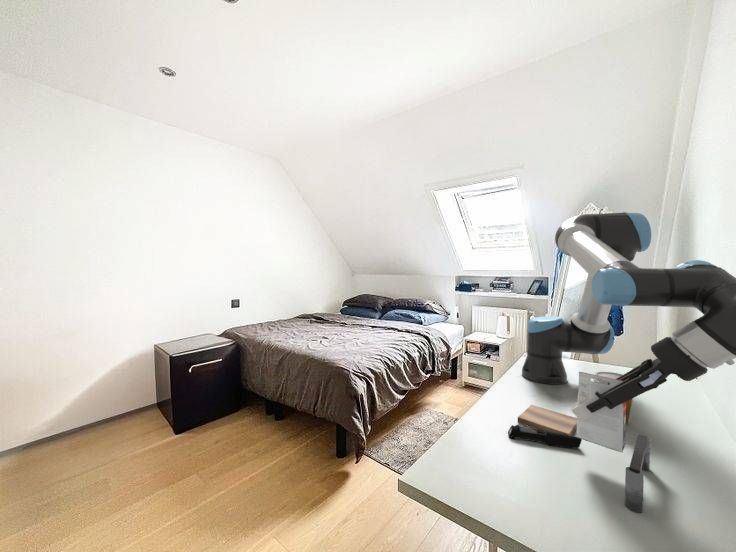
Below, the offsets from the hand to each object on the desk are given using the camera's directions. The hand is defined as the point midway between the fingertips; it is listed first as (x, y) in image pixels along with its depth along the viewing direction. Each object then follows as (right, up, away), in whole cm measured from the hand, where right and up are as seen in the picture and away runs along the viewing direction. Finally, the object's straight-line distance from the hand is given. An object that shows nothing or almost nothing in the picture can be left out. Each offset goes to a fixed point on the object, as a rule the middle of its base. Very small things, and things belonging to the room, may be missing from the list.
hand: (578, 411), depth 68 cm
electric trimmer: (-4, -11, +7) cm, 14 cm away
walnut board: (+2, -10, +16) cm, 19 cm away
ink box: (+3, -6, -3) cm, 7 cm away
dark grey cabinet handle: (+6, -11, -8) cm, 15 cm away
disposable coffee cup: (+22, -10, +18) cm, 30 cm away
